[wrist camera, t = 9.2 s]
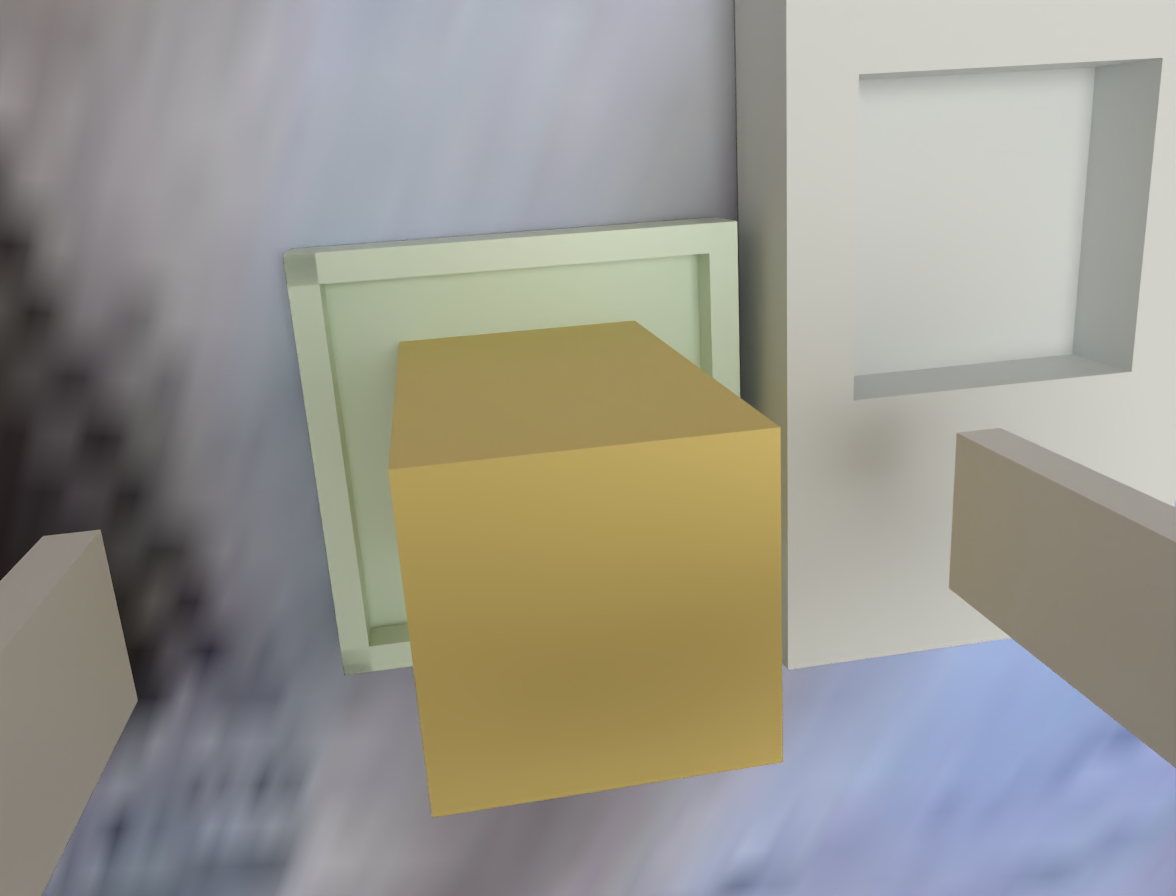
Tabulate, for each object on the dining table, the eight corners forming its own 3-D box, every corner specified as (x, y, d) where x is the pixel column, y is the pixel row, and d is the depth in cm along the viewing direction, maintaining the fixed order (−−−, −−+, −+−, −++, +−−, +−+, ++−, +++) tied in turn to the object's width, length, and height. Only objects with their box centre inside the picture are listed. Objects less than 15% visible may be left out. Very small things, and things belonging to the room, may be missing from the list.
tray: (348, 643, 23) (344, 675, 22) (291, 248, 20) (282, 255, 19) (724, 594, 24) (743, 621, 23) (716, 216, 22) (737, 220, 20)
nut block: (425, 563, 22) (431, 817, 14) (399, 341, 21) (388, 469, 12) (645, 536, 23) (783, 762, 14) (634, 320, 21) (780, 427, 13)
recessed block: (744, 610, 24) (787, 669, 22) (730, -234, 19) (785, -301, 16) (1079, 566, 26) (1161, 616, 23) (1150, -237, 20) (1268, -301, 18)
